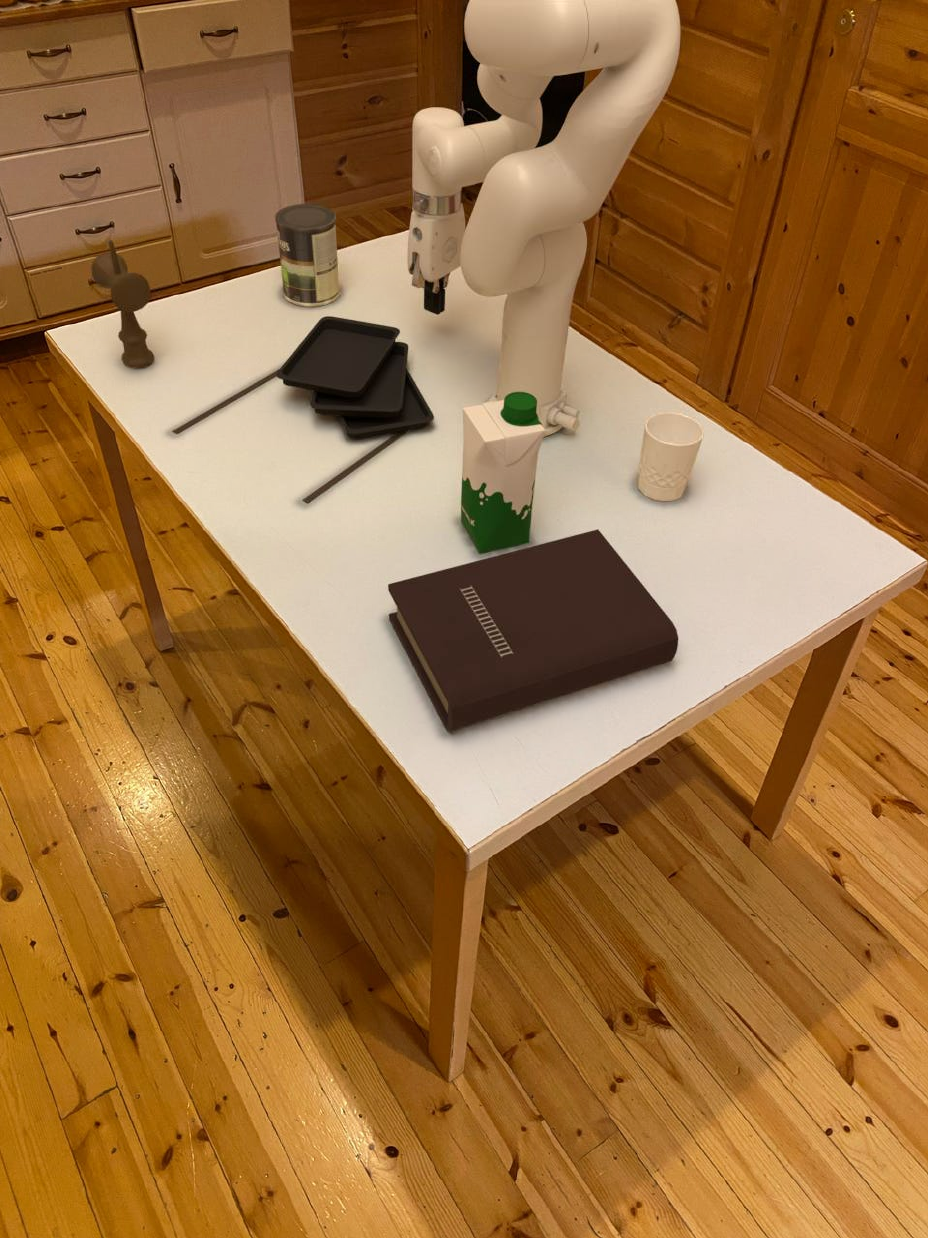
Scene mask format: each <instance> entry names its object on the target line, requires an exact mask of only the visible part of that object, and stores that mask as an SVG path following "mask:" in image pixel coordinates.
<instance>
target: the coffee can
mask: <svg viewBox="0 0 928 1238" xmlns="http://www.w3.org/2000/svg"><path fill="white" fill-rule="evenodd" d="M274 220H275V224H276V232H277V233H276V234H277V241H278V252H279V260H280V261H279V262H280V270H281V281H282V290H283V292H282V294H283V298H284V299H285V300H286V301H287V302H288V303H290V304H293V305H294V306H300V307H305V308H307V307H308V308H315V307H316V308H317V307H322V306H326V305H330V304H331V303H333V302H335V301H336V300H338V298H339V297H340V294H341V291H340V290H341V289H340V279H339V264H338V262H339V261H338V244H337V226H336V222H337V215H336V212H334V210H333V209H331V208H328V207H326V206H324V205H319V204H313V203H299V204H293V205H288V206H286V207H283V208H281V209H279V210H278V211H276V213H275V215H274Z"/></svg>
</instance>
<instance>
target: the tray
mask: <svg viewBox="0 0 928 1238" xmlns="http://www.w3.org/2000/svg"><path fill="white" fill-rule="evenodd" d="M400 334H401V330H400V329H399V328H398V327H396V326H395V327H394V326H389V325H384V324H379V323H372V322H366V321H362V320H355V319H354V320H353V319H349V318H343V317H338V316H330V315H327V316H323V317H321V318H320V319H319V320H318V321H317V323H316V324H314V326H313V327H312V328H311V330H310V331H309V332H308V333H307V335H306V336H305V337H304V339H302V341H301V342H300V344H298V346H297V347H296V348H295V350H293V352H292V353H291V354H290V356H289V357H288V358H287V359H286V361H284V363H283V364H282V365H281V367H280V368H278V369H279V371H278V372H277V374H276V378H278V379H280V380H282V383H283V385H285V386H287V387H291V388H297V389H302V390H307V391H312V394H311V397H310V398H311V399H310V401H309V405H310V407H311V408H312V409H314V412H315V413H316V414H317V415H318V416H319V415H320V416H330V417H331V416H332V417H335V416H336V417H338V418H339V420H340V422H341V425H342V427H343V429H344V431H345V434H346V436H347V437H348V438H349V439H351V440H362V439H368V438H375V437H381V436H386V435H387V436H388V435H391V434H392V435H394V434H396V433H399V432H405V431H408V432H410V431H417V430H422V429H425V428H428V427H429V425H430V422H432V421H434V419H435V416H434V413H433V411H432V410H431V408H430V406H429V405H428V403H427V401H426V399H425V398H424V395H423V394H422V392H421V390H420V389H419V387H418V385H417V383H416V382H415V380H414V378H413V377H412V375H411V373H410V371H409V370H408V368H407V367H408V356H409V344H408V343H406V342H405V341H404V342H403V341H396V340H397V339H398V337H399V335H400Z"/></svg>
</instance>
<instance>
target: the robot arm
mask: <svg viewBox="0 0 928 1238" xmlns="http://www.w3.org/2000/svg"><path fill="white" fill-rule="evenodd" d="M463 25H464V26H463V28H464V29H463V30H464V39H465V42H466V45H467V48H468V50H469V52H470V54H471V55H472V57H473V58H474V59H475V60H476V61H477V62H478V63H480V64H479V66H478V69H477V76H476V81H477V87H478V89H479V93H480V94H481V97H482V98H483V99H484V101H485V102H486V103H487V105H489V107H490V108H492V109H493V110H494V111H495V112H496V113H498V114H500V115H501V116H500V117H499V118H497V119H496V120H490V121H484V122H479V123H474V124H469V125H465V123H464V122H465V121H464V120H463V117H462V116H461V114H460V113H459V112H458V111H456V110H454V109H451V108H447V107H439V106H438V107H434V106H433V107H428V108H423V109H421V110H419V111H417V113H416V114H415V115H414V117H413V119H412V129H411V131H412V133H411V135H412V139H411V140H412V141H411V143H412V149H411V150H412V157H411V158H412V161H411V162H412V165H411V166H412V168H411V171H412V172H411V173H412V175H411V176H412V177H411V178H412V179H411V182H412V183H411V186H412V187H411V209H412V212H411V214H410V220H409V229H408V239H407V271H408V274H409V275H412V279H411V286H412V287H414V288H416V289H423V309H424V310H425V311H427V312H430V313H432V314H434V315H436V316H438V315H440V314H441V313H443V312H445V311H446V310H445V309H446V288H447V287H448V285H449V277H450V274H451V273H452V272H454V271H455V270H457V269H458V268H460V270H461V274H462V276H463V279H464V281H465V284H467V286H468V287H469V289H471V290H472V291H473V292H474V293H476V294H477V295H480V296H482V297H487V298H495V297H499V296H500V297H501V296H504V295H506V297H505V301H504V305H503V313H502V325H501V340H500V354H499V365H498V381H497V383H498V384H497V392H496V393H495V394H493V395H492V396H491V397H490V398H489V399H488V400H487V402H495V401H501V400H504V398H505V397H506V396H507V395H508V394H510V393H513V392H526V393H529V394H531V395H533V396H534V397H535V398H536V399H537V410H536V413H537V415H538V419H539V421H540V422H541V423H542V426H543V428H544V429H545V434H544V437H547V436H550V435H553V434H555V433H557V432H559V431H560V430H561V429H562V428H565V429H568V430H570V431H572V432H575V430H576V429H577V428H578V426H579V423H580V422H579V421H580V419H579V416H580V413H581V412H580V410H579V409H577V408H574V407H571V406H569V405H568V404H567V403H566V400H567V392H564V391H561V389H562V382H563V375H564V368H565V367H564V365H565V358H566V352H567V344H568V335H569V334H568V333H569V327H570V321H571V314H572V313H571V312H572V308H573V307H572V306H573V300H574V296H575V292H576V287H577V284H578V281H579V277H580V274H581V272H582V269H583V266H584V262H585V258H586V253H587V249H588V236H587V230H586V227H585V224H584V222H586V221H588V220H590V219H591V218H593V217H594V216H595V215H596V214H597V212H598V211H599V210H600V208H601V207H602V205H603V204H604V202H605V200H606V198H607V196H608V195H609V193H610V191H611V189H612V187H613V185H614V183H615V182H616V179H617V178H618V176H619V174H620V172H621V171H622V169H623V167H624V165H625V163H626V161H627V159H628V157H629V155H630V154H631V152H632V149H633V148H634V146H635V143H636V142H637V140H638V139H639V137H640V135H641V133H642V132H643V131H644V129H645V127H647V125H648V123H649V121H650V120H651V118H652V117H653V115H654V114H655V111H657V109H658V107H659V106H660V104H661V102H662V101H663V99H664V97H665V96H666V93H667V91H668V89H669V87H670V85H671V83H672V80H673V77H674V74H675V72H676V68H677V65H678V60H679V56H680V55H679V54H680V48H681V19H680V12H679V7H678V4H677V1H676V0H469V1H468V3H467V6H466V10H465V13H464V21H463ZM599 69H601V71H600V72H599V74H597V76H596V77H595V78H594V79H593V80H592V81H591V82H590V83H589V84H588V85H587V86H586V87H585V88H584V89H583V91H581V93H580V94H579V95H578V96H577V98H576V99H575V101H574V102H573V103H572V105H571V107H570V108H569V111H568V112H567V115H566V117H565V120H564V123H563V124H562V126H561V129H559V132H558V134H557V136H556V137H555V138H554V139H553V140H552V141H550V142H549V143H547V144H544V145H542V146H539V147H537V145H538V143H539V141H540V138H541V136H542V130H543V118H544V117H543V106H542V101H541V97H542V96H543V94H544V93H545V90H546V89H547V88H548V85H549V84H550V82H551V81H552V80H553V78H554V77H556V76H563V75H565V76H566V75H571V74H576V73H577V74H578V73H583V72H587V71H594V70H599ZM480 183H481V184H482V185H481V188H480V190H479V193H478V195H477V198H476V201H475V204H474V206H473V209H472V211H471V214H470V217H469V219H468V222H467V225H466V217H465V216H466V215H465V210H464V206H463V203H462V191H463V189H462V188H464V187H469V186H474V185H476V184H480Z"/></svg>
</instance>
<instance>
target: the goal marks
mask: <svg viewBox="0 0 928 1238" xmlns="http://www.w3.org/2000/svg"><path fill="white" fill-rule="evenodd" d="M279 369H280V368H278V369H277V370H275V371H273V372H271V373H270V374H268V375H266V376H265V377H263V378H262V379H259V380H258V381H256V382H255V383H253V384H251V385H249V386H247V387H246V388H244V389H242V390H240V391H238V392H237V393H236V394H233V395H232V396H230V397H228V398H227V399H225V400H223V401H221V402H220V403H218V404H216V405H215V406H213V407H211V408H210V409H208V410H205V411H204V412H202V413H201V414H199V415H197V416H196V417H194V418H192V419H191V420H188V421H187V422H186V423H183V424H182V425H180V426H179V427H176V428H174V429H173V430H172V432H173V433H174V434H176V435H179V434H180V433H182V432H183V431H185V430H187V429H188V428H190V427H192V426H193V425H195V424H198V423H199V422H200V421H202V420H204V419H206V418H207V417H209V416H210V415H212V414H214V413H215V412H217V411H220V410H221V409H222V408H224V407H226V406H228V405H229V404H231V403H232V402H235V401H236V400H238V399H240V398H241V397H243V396H245V395H247V394H248V393H251V392H252V391H253V390H255V389H256V388H258V387H261V386H262V385H263V384H265V383H268V382H269V381H270V380H272V379H274V378H277V376H276V374H277V372H278V371H279ZM408 432H409V431H405V432H399V433H394V434H392V436H390V437H389V438H388V439H386V440H385V441H383V442H382V443H380V444H379V445H378V446H376V447H375V448H373V449H372V450H370V451H369V452H368V453H366V454H365V455H364V456H362V457H360V458H359V459H358V460H357V461H355V462H354V463H352V464H351V465H349V466H348V467H347V468H346V469H344V470H343V471H341V472H340V473H338V474H337V475H335V476H334V477H332V478H331V479H330V480H329V481H327V482H325V483H323V485H322V486H320V487H318V488H317V489H316V490H315V491H313V492H311V493H310V494H309V495H307V496H306V497H304V498H303V499H302V502H304V503H306V504H309V503H311V502H312V501H314V500H315V499H316V498H318V497H319V496H320V495H322V494H323V493H324V492H326V491H327V490H329V489H331V488H332V487H333V486H335V485H336V484H337V483H339V482H340V481H341V480H343V479H344V478H345V477H347V476H348V475H350V474H351V473H353V472H354V471H355V470H357V469H359V467H361V466H362V465H364V464H365V463H367V462H368V461H370V459H372V458H374V457H375V456H376V455H377V454H379V453H381V452H382V451H383V450H385V449H386V448H388V446H390V445H391V444H393V443H395V441H397V440H398V439H400V438H401V437H403V436H404V435H406V434H407V433H408Z"/></svg>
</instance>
